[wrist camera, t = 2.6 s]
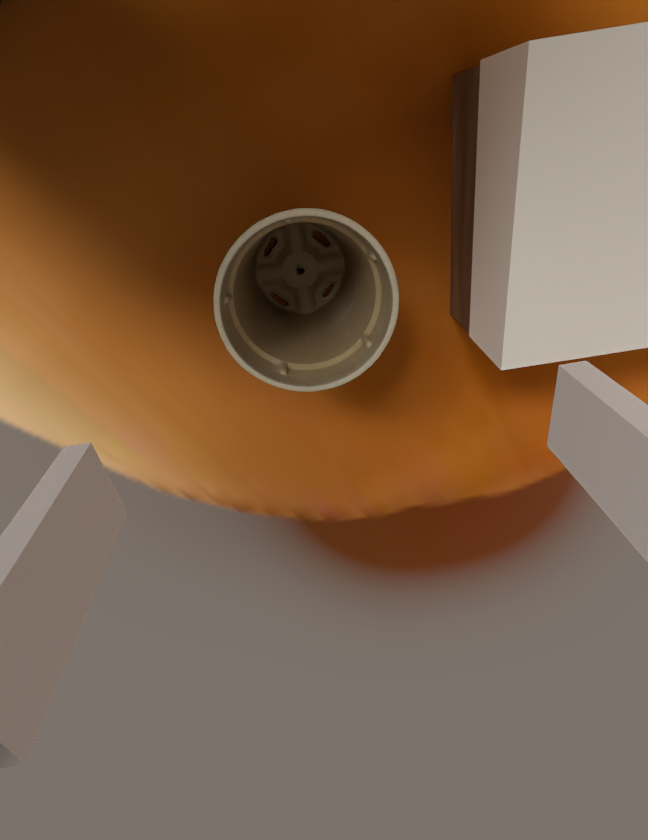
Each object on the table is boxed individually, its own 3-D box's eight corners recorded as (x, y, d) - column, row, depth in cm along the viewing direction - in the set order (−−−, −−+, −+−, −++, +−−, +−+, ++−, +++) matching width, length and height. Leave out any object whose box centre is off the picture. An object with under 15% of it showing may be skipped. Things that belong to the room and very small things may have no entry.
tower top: (469, 336, 29) (501, 370, 25) (480, 59, 21) (529, 40, 17) (686, 302, 29) (756, 330, 25) (774, 12, 21) (896, -19, 17)
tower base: (448, 312, 33) (472, 338, 29) (450, 75, 26) (483, 63, 21) (637, 281, 33) (690, 302, 29) (695, 34, 26) (777, 13, 21)
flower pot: (389, 210, 29) (425, 235, 21) (351, 346, 33) (370, 404, 26) (240, 172, 27) (225, 185, 20) (222, 321, 32) (204, 376, 24)
